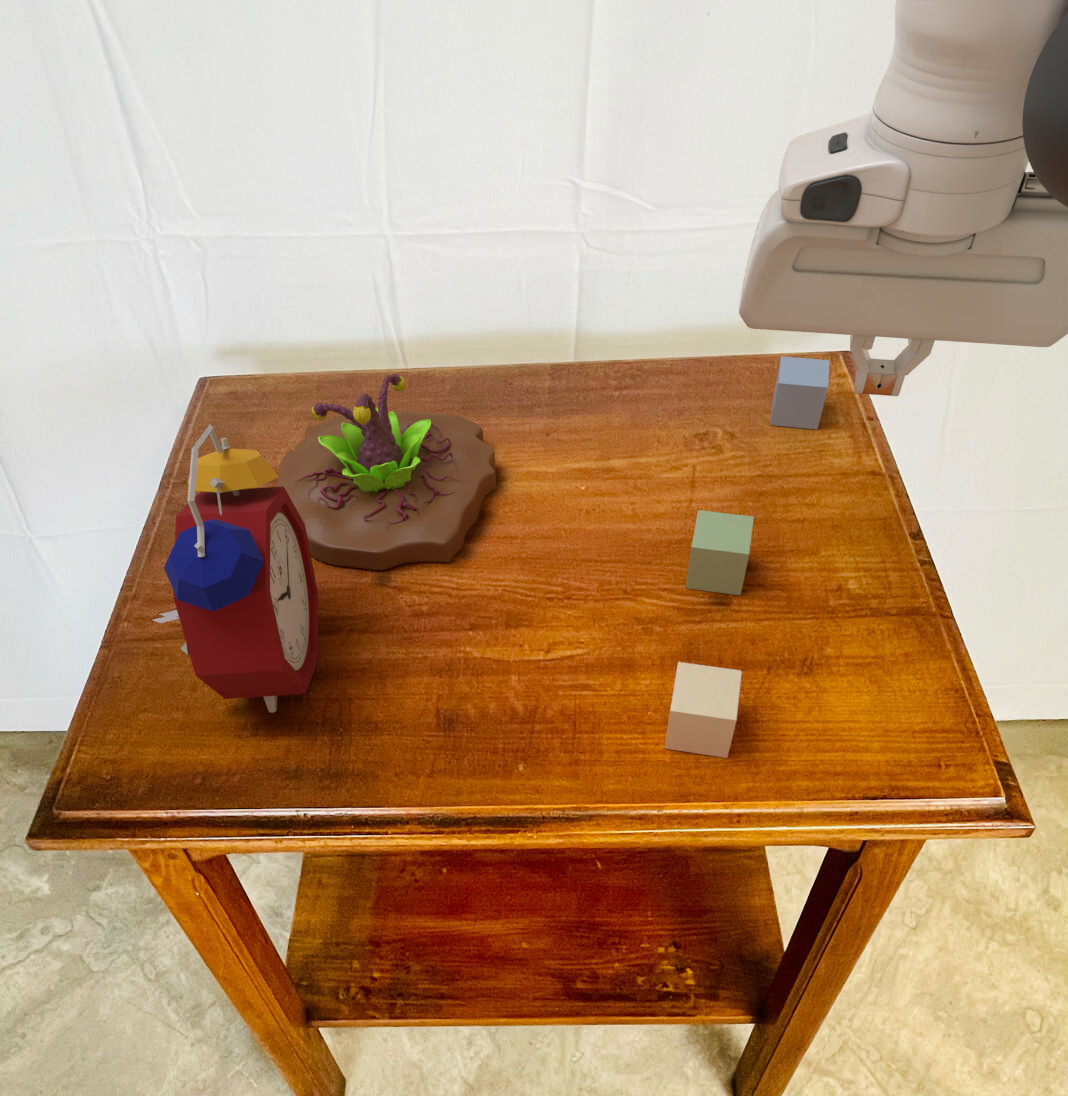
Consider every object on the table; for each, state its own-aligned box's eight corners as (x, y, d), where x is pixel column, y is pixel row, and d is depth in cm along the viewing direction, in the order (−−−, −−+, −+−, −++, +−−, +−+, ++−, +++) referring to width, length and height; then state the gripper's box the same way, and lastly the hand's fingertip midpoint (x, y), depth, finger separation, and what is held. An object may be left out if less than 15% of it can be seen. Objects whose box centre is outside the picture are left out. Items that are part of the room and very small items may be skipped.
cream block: (672, 700, 67) (678, 661, 64) (732, 709, 67) (742, 670, 63) (664, 748, 65) (670, 710, 61) (727, 758, 64) (736, 720, 60)
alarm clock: (312, 735, 67) (228, 523, 50) (195, 742, 67) (74, 532, 50) (328, 593, 75) (261, 373, 59) (225, 599, 75) (129, 381, 59)
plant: (249, 565, 78) (206, 454, 68) (308, 428, 89) (277, 317, 80) (478, 577, 76) (465, 466, 67) (508, 436, 87) (500, 324, 78)
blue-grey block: (772, 398, 89) (781, 355, 85) (819, 402, 88) (829, 360, 85) (769, 425, 87) (778, 382, 83) (817, 430, 86) (828, 387, 82)
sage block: (692, 551, 77) (698, 509, 73) (745, 558, 76) (754, 516, 72) (685, 588, 74) (691, 546, 70) (740, 595, 73) (749, 554, 70)
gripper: (1128, 152, 51) (1030, 375, 62) (762, 140, 54) (732, 354, 65) (1148, 203, 48) (1040, 430, 59) (755, 187, 51) (725, 405, 62)
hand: (875, 390), depth 62 cm, fingers closed
